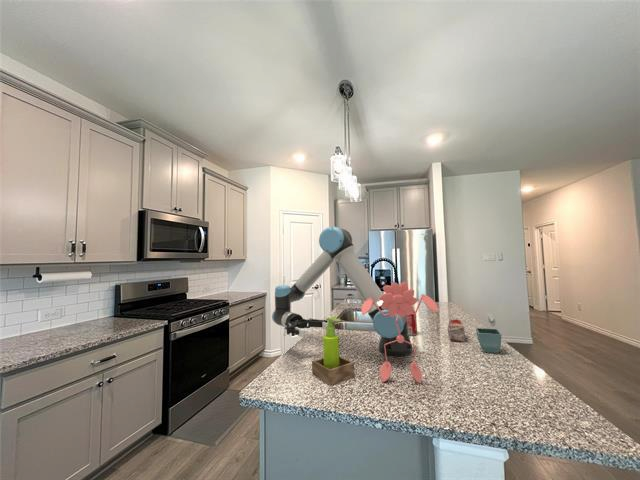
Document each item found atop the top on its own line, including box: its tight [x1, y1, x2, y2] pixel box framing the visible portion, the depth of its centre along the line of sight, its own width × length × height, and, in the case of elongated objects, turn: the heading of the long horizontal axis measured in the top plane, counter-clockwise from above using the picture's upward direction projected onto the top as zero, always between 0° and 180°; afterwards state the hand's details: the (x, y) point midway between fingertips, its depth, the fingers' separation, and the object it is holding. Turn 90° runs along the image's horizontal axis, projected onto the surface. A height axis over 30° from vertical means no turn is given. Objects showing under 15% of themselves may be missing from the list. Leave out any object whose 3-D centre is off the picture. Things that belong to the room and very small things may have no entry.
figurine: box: [360, 281, 439, 398], centre depth 94 cm, size 15×26×35 cm, turn 79°
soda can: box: [407, 309, 418, 337], centre depth 152 cm, size 7×7×13 cm
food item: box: [447, 318, 466, 343], centre depth 142 cm, size 14×8×10 cm, turn 158°
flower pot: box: [475, 327, 503, 354], centre depth 123 cm, size 9×9×9 cm
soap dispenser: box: [322, 317, 341, 369], centre depth 103 cm, size 6×7×20 cm
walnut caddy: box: [311, 355, 355, 386], centre depth 102 cm, size 11×11×5 cm
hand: (318, 331), depth 110 cm, fingers open, 13 cm apart
